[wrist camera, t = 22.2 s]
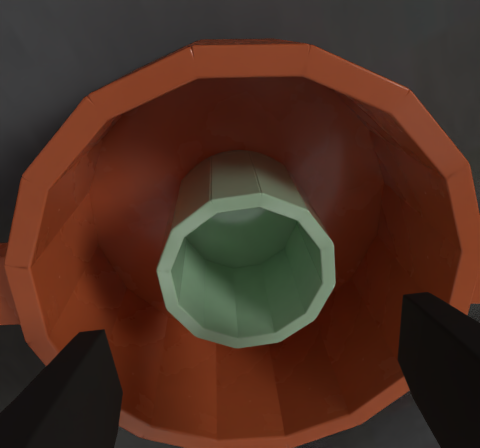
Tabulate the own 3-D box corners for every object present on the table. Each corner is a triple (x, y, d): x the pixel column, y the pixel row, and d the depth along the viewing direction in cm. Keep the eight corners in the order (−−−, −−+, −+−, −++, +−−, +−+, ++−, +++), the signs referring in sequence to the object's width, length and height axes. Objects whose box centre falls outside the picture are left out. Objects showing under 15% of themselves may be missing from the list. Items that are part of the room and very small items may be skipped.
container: (228, 291, 19) (232, 372, 15) (144, 204, 17) (120, 268, 13) (328, 222, 18) (367, 287, 13) (251, 121, 16) (267, 156, 11)
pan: (426, 325, 21) (506, 437, 15) (46, 343, 20) (-20, 469, 15) (489, 35, 16) (653, 38, 10) (-32, 42, 15) (-192, 50, 9)
